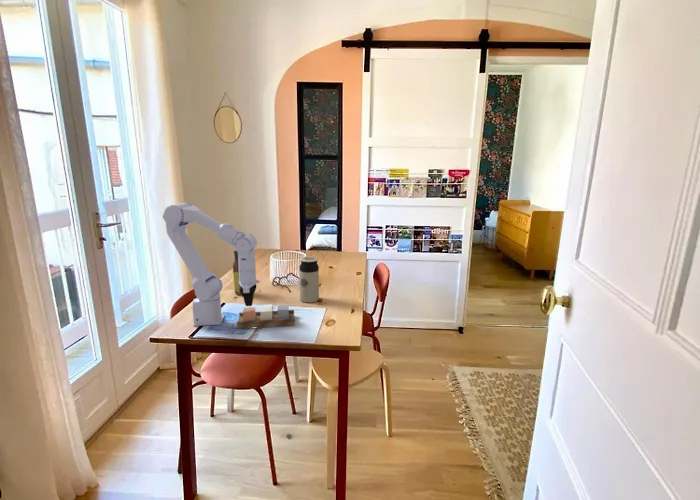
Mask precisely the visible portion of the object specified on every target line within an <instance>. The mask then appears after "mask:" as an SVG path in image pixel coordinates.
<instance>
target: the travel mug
mask: <svg viewBox="0 0 700 500" xmlns="http://www.w3.org/2000/svg"><path fill="white" fill-rule="evenodd" d="M318 260H319V259H318V257H317V256H316V257H315V256H303V257H300V258H299V261H300V265H299V270H298V271H299V278H300V279H299V300H300V301H301V302H303V303H307V304H308V303H310V304H311V303H315V302H317V301H319V299H320V291H319V290H320V285H319V284H320V283H319V282H320V277H319V276H320V273H319V272H320V271H319V269H320V266H319V263H318Z"/></svg>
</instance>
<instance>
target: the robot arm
mask: <svg viewBox="0 0 700 500" xmlns="http://www.w3.org/2000/svg"><path fill="white" fill-rule="evenodd" d="M162 219H163V220H164V222H165V228H166V234H167V236H168V238H169V239H170V241H171V242H172V244H173V246H174V247H175V249H176V251H177V253H178V254H179V256H180V258H181V260H182V261H183V262H184V265H185V266H186V268H187V269H188V271H189V273H190V274H191V276H192V277H193V279H192V284H191V285H192V287H193V289H194V295H195V296H196V298H194V299H192V300H193V301H192V314H193V315H192V316H193V326H194V327H197V326H199V327H200V326H214V325H215V326H217V325H218V326H219V325H222V323H223V320H224V317H225V315H224V314H222V303H221V293H220V292H221V291H222V289H223V286H224V285H223V282H222V280H221V278H219V277H217V276H216V274H215V273H214V272H213V271H211V270H208V268H207V266H206V265H205V263H204V261H203V260H202V258H201V256H200V254H199V253H198V251H197V249H196V248H195V245H194V244H193V242H192V241H191V239H190V238H189V236H188V234H187V232H186V230H187V227H188V224H189V223H193V222H195V223H197V224H198V225H199V224H200V226H203V227H205V228H207V229H209V230H211V231H213V232H215V234H216V236H217V238H218V239H221V240H222V241H223V242H225V243H227V244H229V245H230V246H233V247H234V249H236V251H237V252H238V265H239V285H240V288H239V290H240V292H241V293H242V295H241V296H242V298H243V300H244V305H245V307H252V305H253V302H254V294H255V292H256V290H257V284H259V283H260V279H257V272H256V255H255V254H256V253H255V252H256V251H255V250H256V249H255V248H256V246H257V244H258V243H257V242H258V241H257V239H256V237H255V236H254V235H253V234H252V233H246V232H245V231H243V230H242V231H241V230H239V229H237V228H236V227H234V224H232V223H227V222H226V223H221V222H219V221H217V220H216V219H215V218H214V217H211V216H209V215H208V214H207V213H205V212H204V211H202V210H200V209H199V207H197V206H196V205H193V204H192V203H190V202H188V201H183V202H181V203H176V204H170V205H168V206H167V207H166V208H165V209H164V212H163V214H162Z"/></svg>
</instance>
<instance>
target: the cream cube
mask: <svg viewBox="0 0 700 500" xmlns="http://www.w3.org/2000/svg"><path fill="white" fill-rule="evenodd" d="M272 311H273V306H272V307H271V306H270V307H269V306H268V307H267V306H266V307H260V310H259V312H260V315H261V320H272Z"/></svg>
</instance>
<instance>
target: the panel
mask: <svg viewBox="0 0 700 500" xmlns="http://www.w3.org/2000/svg"><path fill="white" fill-rule="evenodd" d="M255 312H256V317H255V321H243V311H242V312H239V314H238V315H239V316H238V319H237V321H236V329H237V330H241V329H240V328H249V329H253V328H252V327H257V328H256V329H261V328H276V327H277V328H279V327H280V326H282V327H296V322H295V320H296V318H295V309H289V319H278V312H277V310H272V320H261V315H260V311H255Z"/></svg>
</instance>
